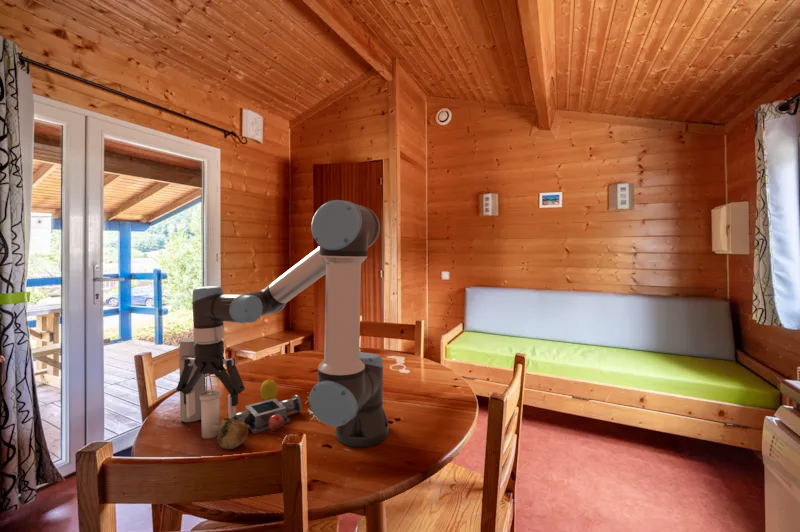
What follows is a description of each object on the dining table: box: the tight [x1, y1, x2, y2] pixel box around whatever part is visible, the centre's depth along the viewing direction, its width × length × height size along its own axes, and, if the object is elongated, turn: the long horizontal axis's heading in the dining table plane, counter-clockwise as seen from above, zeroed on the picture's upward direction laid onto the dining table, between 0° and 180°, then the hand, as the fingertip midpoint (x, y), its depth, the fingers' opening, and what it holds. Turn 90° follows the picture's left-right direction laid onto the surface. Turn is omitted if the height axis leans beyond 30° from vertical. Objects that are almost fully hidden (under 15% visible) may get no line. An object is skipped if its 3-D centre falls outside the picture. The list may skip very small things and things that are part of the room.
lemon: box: [259, 378, 278, 401], centre depth 127 cm, size 6×6×8 cm
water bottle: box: [177, 336, 213, 423], centre depth 114 cm, size 9×8×25 cm
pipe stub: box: [200, 389, 221, 439], centre depth 104 cm, size 5×5×12 cm
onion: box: [212, 417, 249, 450], centre depth 98 cm, size 8×8×8 cm
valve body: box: [226, 394, 303, 435], centre depth 111 cm, size 14×21×6 cm
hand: (211, 415), depth 104 cm, fingers open, 12 cm apart
